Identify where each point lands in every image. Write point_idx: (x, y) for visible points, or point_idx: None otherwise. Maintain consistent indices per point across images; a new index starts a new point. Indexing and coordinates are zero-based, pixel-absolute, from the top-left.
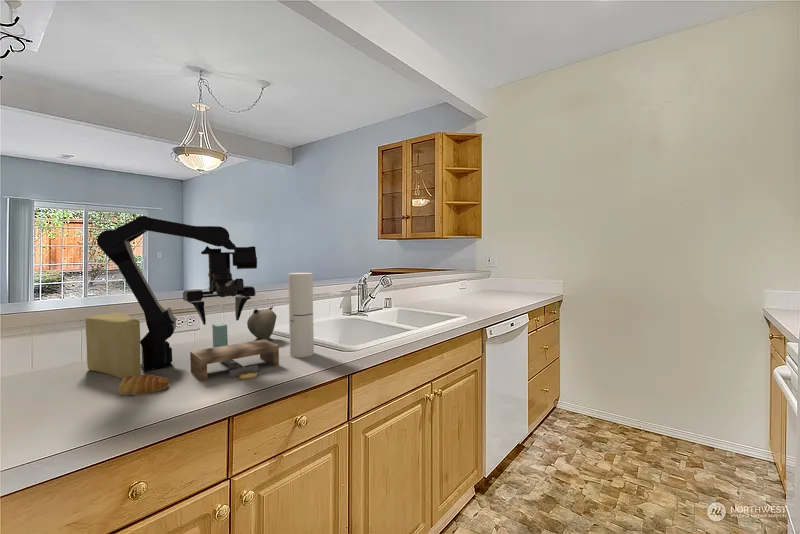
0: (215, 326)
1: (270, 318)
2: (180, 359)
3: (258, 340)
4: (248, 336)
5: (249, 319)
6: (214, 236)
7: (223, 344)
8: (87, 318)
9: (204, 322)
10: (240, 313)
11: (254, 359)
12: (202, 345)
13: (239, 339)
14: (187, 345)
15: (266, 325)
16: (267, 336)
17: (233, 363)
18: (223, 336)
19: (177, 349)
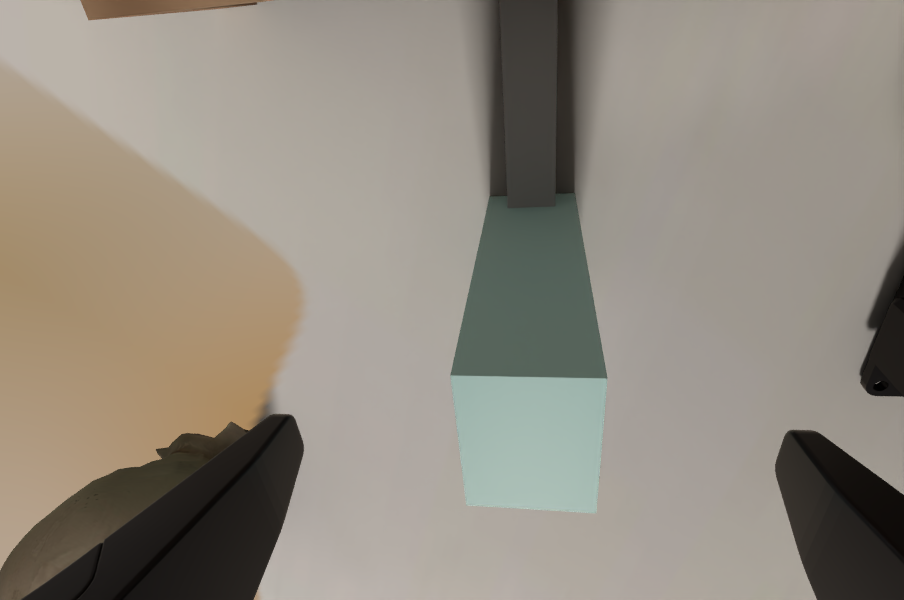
0: (603, 407)
1: (38, 549)
2: (764, 378)
3: (158, 3)
4: (286, 565)
5: None
6: None
7: (518, 249)
8: None
9: (832, 450)
10: (182, 483)
11: (305, 7)
12: (536, 558)
13: (337, 546)
14: (600, 596)
15: (111, 499)
16: (170, 456)
17: None
18: (513, 290)
19: (673, 566)
